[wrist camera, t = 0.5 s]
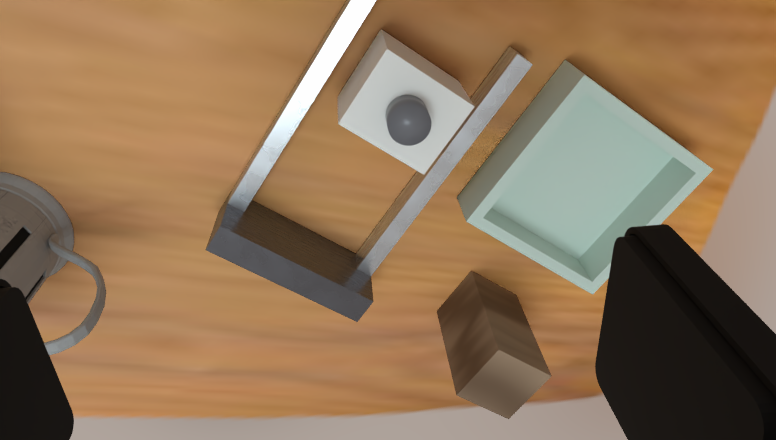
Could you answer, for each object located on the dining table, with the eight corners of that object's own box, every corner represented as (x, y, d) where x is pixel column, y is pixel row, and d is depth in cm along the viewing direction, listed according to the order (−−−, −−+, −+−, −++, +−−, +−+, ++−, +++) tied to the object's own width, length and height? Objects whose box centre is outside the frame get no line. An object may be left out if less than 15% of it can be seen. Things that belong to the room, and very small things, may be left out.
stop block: (471, 270, 47) (498, 349, 39) (516, 295, 48) (551, 376, 40) (436, 311, 48) (456, 395, 40) (481, 333, 50) (508, 418, 42)
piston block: (380, 28, 37) (389, 56, 31) (459, 81, 39) (480, 116, 33) (337, 96, 39) (338, 134, 33) (414, 143, 41) (427, 186, 35)
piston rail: (376, -50, 35) (382, -40, 31) (523, 56, 39) (547, 78, 34) (218, 211, 43) (205, 249, 38) (355, 280, 46) (357, 321, 42)
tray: (565, 59, 39) (584, 74, 36) (686, 149, 43) (713, 169, 40) (456, 197, 43) (466, 221, 40) (575, 267, 47) (592, 294, 44)
